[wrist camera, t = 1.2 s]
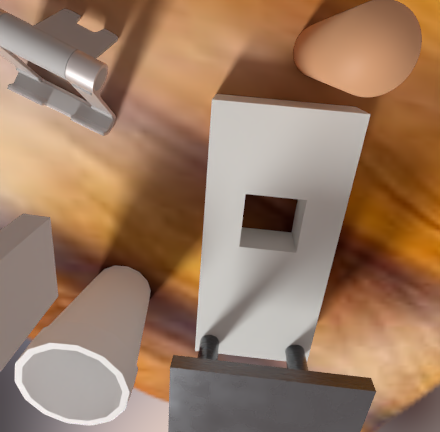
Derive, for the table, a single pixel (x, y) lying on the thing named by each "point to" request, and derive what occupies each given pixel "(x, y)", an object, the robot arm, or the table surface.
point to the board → (268, 239)
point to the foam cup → (88, 351)
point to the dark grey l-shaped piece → (263, 395)
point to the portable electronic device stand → (60, 65)
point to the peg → (361, 48)
